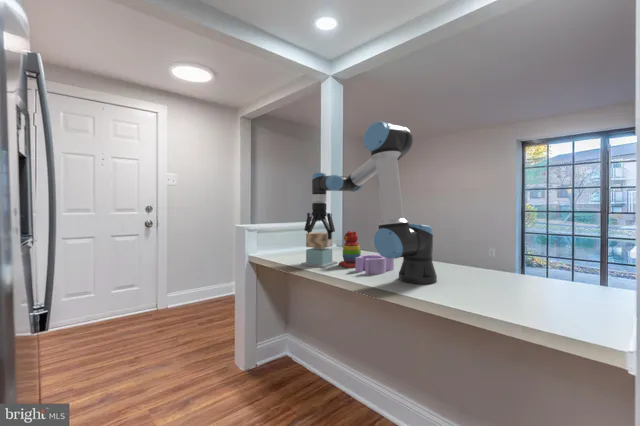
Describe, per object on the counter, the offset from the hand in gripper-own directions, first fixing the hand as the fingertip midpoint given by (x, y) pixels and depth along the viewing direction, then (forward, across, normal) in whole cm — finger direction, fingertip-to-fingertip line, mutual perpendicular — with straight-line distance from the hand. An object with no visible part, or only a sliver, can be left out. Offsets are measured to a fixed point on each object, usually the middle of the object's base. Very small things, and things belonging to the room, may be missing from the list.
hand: (319, 245), depth 166 cm
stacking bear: (+10, -16, -5) cm, 20 cm away
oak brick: (+1, 0, 0) cm, 1 cm away
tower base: (+10, 0, 0) cm, 10 cm away
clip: (+11, -31, -1) cm, 33 cm away
